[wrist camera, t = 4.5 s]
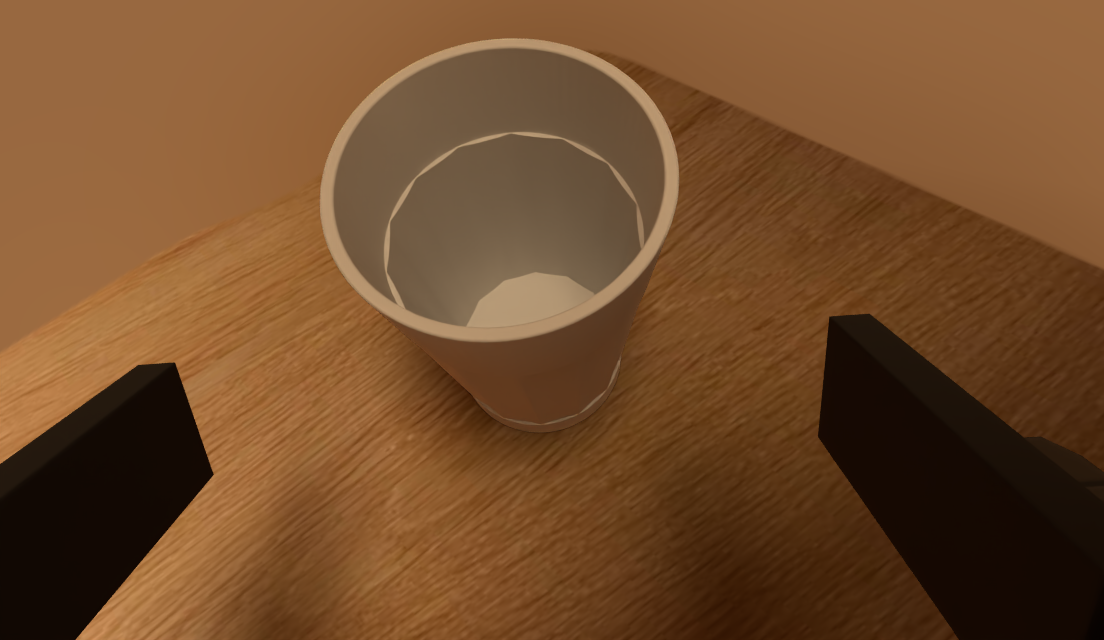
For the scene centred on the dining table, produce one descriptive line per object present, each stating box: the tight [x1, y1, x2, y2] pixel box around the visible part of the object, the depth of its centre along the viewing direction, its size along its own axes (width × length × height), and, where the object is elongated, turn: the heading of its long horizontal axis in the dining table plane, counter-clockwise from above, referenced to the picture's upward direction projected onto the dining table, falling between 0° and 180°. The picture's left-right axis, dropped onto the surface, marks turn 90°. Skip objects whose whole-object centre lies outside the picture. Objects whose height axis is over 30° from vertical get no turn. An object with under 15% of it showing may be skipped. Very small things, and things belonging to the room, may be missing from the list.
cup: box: [320, 38, 679, 433], centre depth 19 cm, size 8×8×12 cm
